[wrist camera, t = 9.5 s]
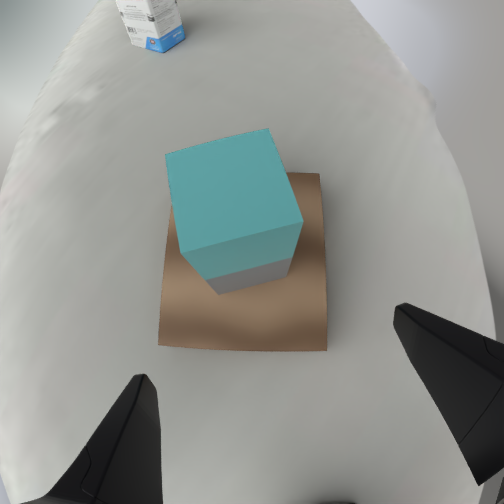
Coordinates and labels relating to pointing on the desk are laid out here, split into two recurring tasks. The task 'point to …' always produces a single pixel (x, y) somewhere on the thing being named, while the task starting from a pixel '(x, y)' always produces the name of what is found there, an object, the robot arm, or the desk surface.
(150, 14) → the ink box
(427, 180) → the desk surface
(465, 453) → the robot arm
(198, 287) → the walnut stand
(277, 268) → the teal tall block
